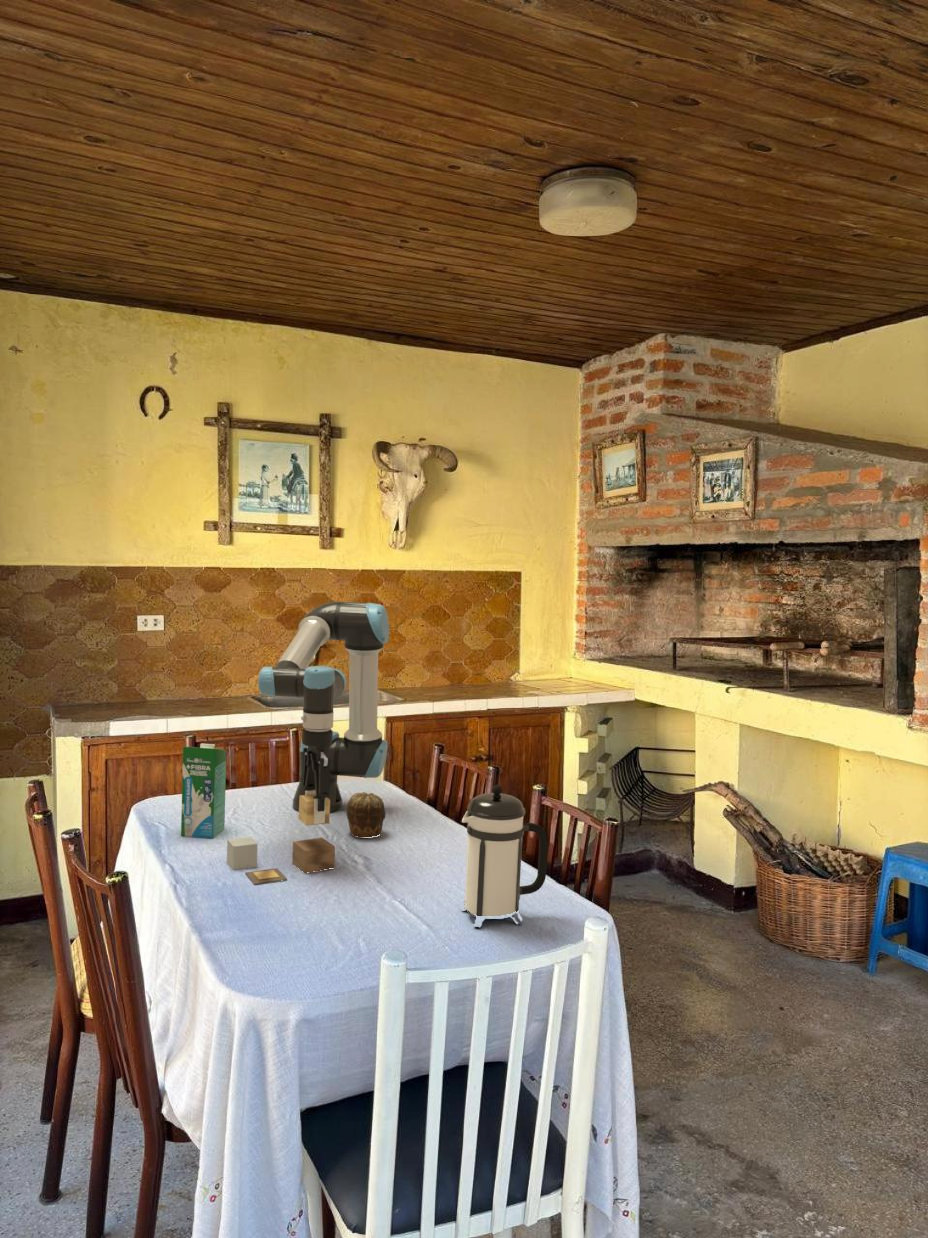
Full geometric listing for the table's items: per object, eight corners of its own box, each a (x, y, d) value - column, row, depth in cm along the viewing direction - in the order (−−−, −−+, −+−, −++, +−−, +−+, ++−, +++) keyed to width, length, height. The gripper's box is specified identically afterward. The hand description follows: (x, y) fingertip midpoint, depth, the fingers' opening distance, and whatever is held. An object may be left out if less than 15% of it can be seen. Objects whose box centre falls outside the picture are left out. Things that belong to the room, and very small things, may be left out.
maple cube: (321, 816, 234) (322, 793, 234) (329, 823, 229) (330, 799, 229) (298, 818, 231) (299, 795, 231) (306, 825, 226) (307, 801, 226)
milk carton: (224, 829, 258) (226, 741, 257) (212, 838, 249) (214, 748, 248) (193, 826, 259) (195, 739, 257) (180, 836, 250) (182, 746, 248)
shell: (338, 837, 255) (339, 795, 254) (357, 827, 265) (358, 786, 265) (372, 843, 251) (374, 800, 250) (390, 833, 261) (392, 791, 261)
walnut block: (321, 860, 237) (322, 837, 236) (334, 870, 230) (335, 846, 230) (292, 864, 232) (292, 841, 232) (304, 874, 226) (305, 851, 225)
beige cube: (250, 859, 235) (250, 836, 234) (256, 867, 229) (257, 843, 229) (226, 862, 232) (227, 839, 231) (232, 870, 226) (233, 846, 226)
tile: (277, 869, 228) (277, 867, 228) (287, 880, 221) (287, 877, 221) (245, 874, 224) (245, 871, 224) (254, 885, 217) (254, 882, 217)
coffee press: (508, 938, 193) (515, 799, 191) (444, 920, 201) (450, 785, 199) (545, 913, 208) (552, 783, 205) (485, 896, 216) (490, 771, 214)
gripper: (291, 722, 235) (288, 811, 237) (316, 737, 219) (312, 832, 220) (318, 721, 239) (316, 808, 240) (345, 735, 222) (342, 828, 224)
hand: (314, 819), depth 230 cm, fingers closed on maple cube, 6 cm apart
